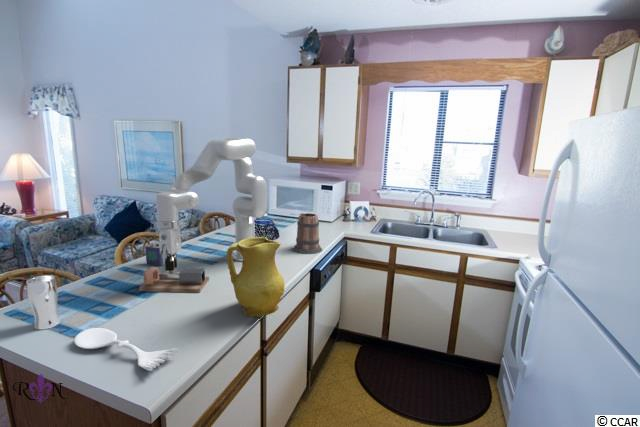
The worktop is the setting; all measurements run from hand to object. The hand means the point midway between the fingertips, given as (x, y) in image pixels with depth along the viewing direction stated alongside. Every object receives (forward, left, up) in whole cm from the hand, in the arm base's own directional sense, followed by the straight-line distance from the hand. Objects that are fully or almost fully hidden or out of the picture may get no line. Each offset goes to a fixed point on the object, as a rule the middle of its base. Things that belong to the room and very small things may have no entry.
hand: (171, 268), depth 130 cm
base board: (-1, 0, -7) cm, 7 cm away
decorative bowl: (-27, -75, -8) cm, 80 cm away
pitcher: (-37, +17, -7) cm, 41 cm away
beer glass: (+26, +30, -7) cm, 40 cm away
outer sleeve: (-8, 0, -6) cm, 10 cm away
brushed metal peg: (-3, 0, -5) cm, 6 cm away
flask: (+17, -23, -7) cm, 30 cm away
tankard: (-56, -53, -7) cm, 78 cm away
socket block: (+8, 0, -6) cm, 10 cm away
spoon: (-4, +44, -8) cm, 44 cm away
